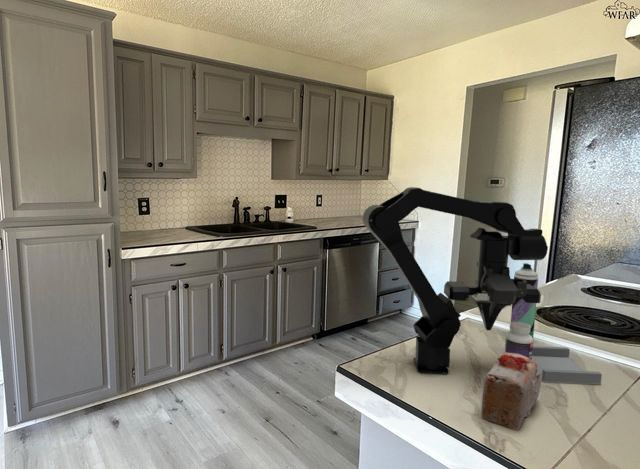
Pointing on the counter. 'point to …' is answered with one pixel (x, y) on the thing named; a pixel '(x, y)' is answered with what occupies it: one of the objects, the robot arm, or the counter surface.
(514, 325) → the pill bottle
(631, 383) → the counter surface
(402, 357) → the counter surface
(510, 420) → the food item
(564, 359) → the tray
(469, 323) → the counter surface
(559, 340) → the counter surface
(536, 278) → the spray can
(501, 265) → the robot arm
